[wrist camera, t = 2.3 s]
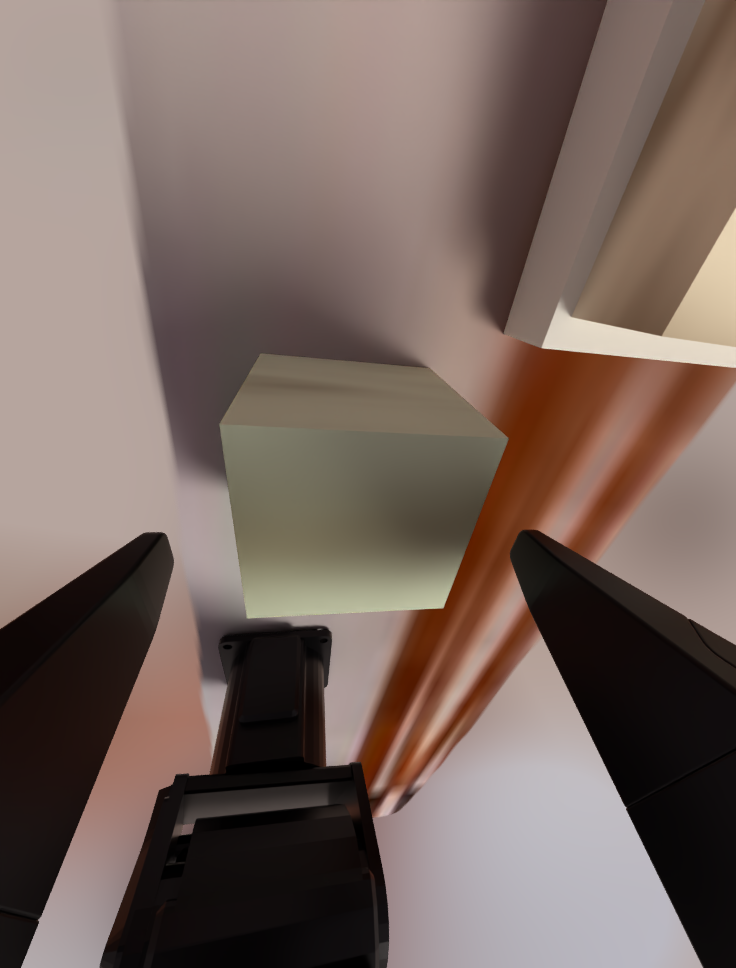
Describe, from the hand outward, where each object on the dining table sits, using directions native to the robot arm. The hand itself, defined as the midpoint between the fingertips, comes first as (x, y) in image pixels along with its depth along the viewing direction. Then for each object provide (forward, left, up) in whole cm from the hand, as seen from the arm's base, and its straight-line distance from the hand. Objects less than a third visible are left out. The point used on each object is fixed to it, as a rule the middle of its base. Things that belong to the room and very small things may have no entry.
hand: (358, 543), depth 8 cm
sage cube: (0, 0, -6) cm, 6 cm away
